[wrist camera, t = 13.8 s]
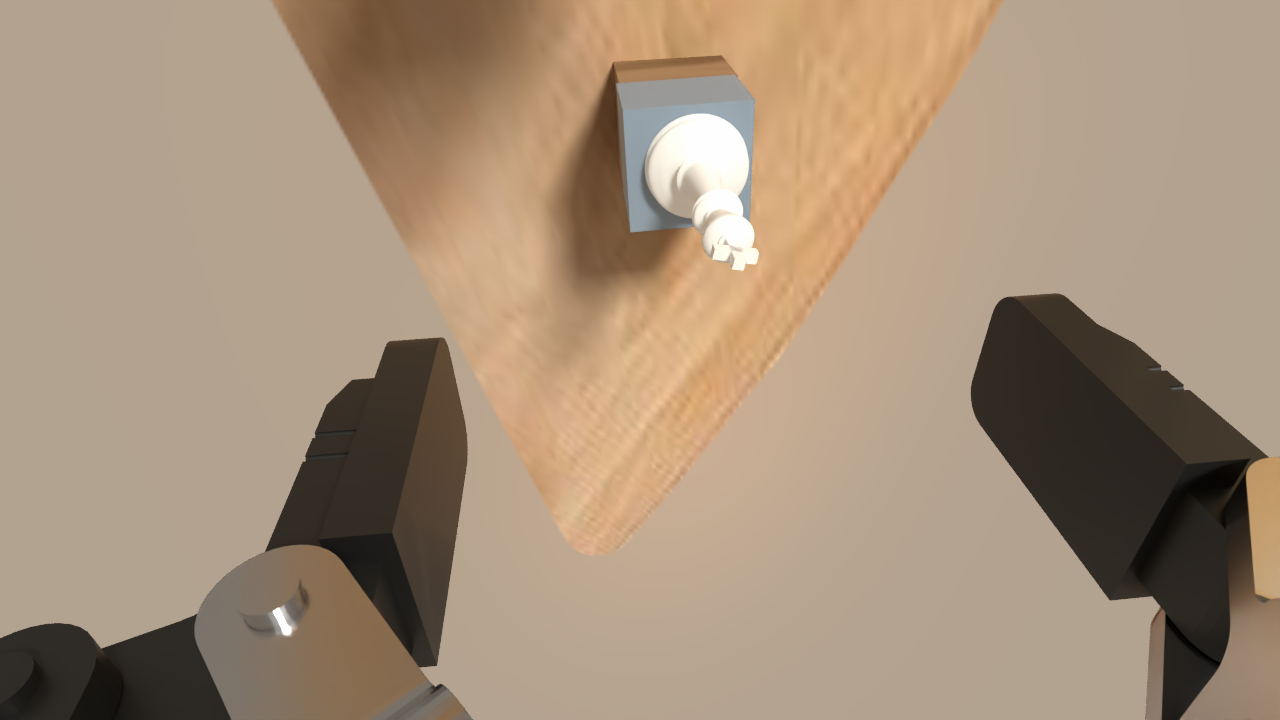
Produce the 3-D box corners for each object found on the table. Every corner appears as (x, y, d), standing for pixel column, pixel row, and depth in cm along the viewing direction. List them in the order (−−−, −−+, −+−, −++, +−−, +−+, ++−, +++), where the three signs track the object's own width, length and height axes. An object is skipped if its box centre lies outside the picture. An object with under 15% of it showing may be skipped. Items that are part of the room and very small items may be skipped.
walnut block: (613, 61, 40) (619, 83, 36) (721, 55, 40) (737, 75, 36) (618, 167, 43) (624, 196, 39) (718, 160, 43) (732, 189, 40)
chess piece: (654, 105, 32) (686, 191, 24) (759, 121, 33) (824, 209, 25) (636, 207, 35) (660, 316, 27) (733, 219, 36) (785, 328, 28)
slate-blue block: (616, 83, 36) (622, 109, 32) (735, 74, 36) (754, 99, 32) (623, 197, 39) (630, 232, 36) (731, 188, 40) (749, 222, 36)
